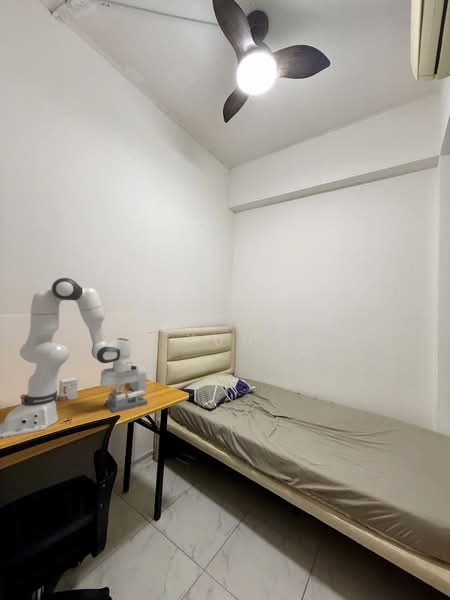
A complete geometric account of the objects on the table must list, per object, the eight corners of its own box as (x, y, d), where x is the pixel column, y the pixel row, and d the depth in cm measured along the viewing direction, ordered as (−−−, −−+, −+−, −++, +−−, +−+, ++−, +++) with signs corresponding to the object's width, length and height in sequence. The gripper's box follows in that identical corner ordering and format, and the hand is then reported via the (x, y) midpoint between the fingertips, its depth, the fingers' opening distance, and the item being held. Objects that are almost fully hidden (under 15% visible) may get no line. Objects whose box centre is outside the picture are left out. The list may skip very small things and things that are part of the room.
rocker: (128, 398, 135) (128, 395, 135) (125, 396, 138) (125, 393, 138) (145, 394, 142) (145, 391, 142) (142, 392, 145) (142, 389, 145)
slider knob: (127, 398, 143) (127, 393, 143) (125, 396, 145) (125, 391, 145) (132, 396, 145) (132, 391, 145) (130, 395, 147) (130, 390, 147)
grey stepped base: (113, 413, 127) (114, 402, 128) (105, 403, 138) (105, 393, 139) (147, 404, 140) (147, 394, 140) (137, 396, 151) (137, 387, 151)
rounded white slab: (148, 395, 155) (150, 369, 155) (137, 396, 151) (138, 370, 151) (138, 383, 177) (139, 360, 177) (128, 384, 173) (129, 361, 173)
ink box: (60, 401, 139) (61, 381, 139) (58, 399, 142) (59, 379, 142) (76, 398, 145) (78, 378, 145) (74, 395, 148) (75, 376, 149)
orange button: (112, 398, 136) (113, 389, 136) (110, 395, 139) (111, 387, 139) (120, 396, 139) (121, 387, 139) (118, 394, 142) (118, 385, 142)
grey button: (117, 406, 130) (117, 397, 130) (114, 403, 134) (114, 394, 134) (125, 404, 133) (125, 395, 133) (122, 401, 137) (122, 393, 137)
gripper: (103, 370, 125) (100, 397, 124) (140, 366, 138) (139, 390, 138) (99, 368, 129) (97, 393, 129) (136, 364, 143) (134, 387, 142)
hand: (119, 391), depth 133 cm, fingers closed
